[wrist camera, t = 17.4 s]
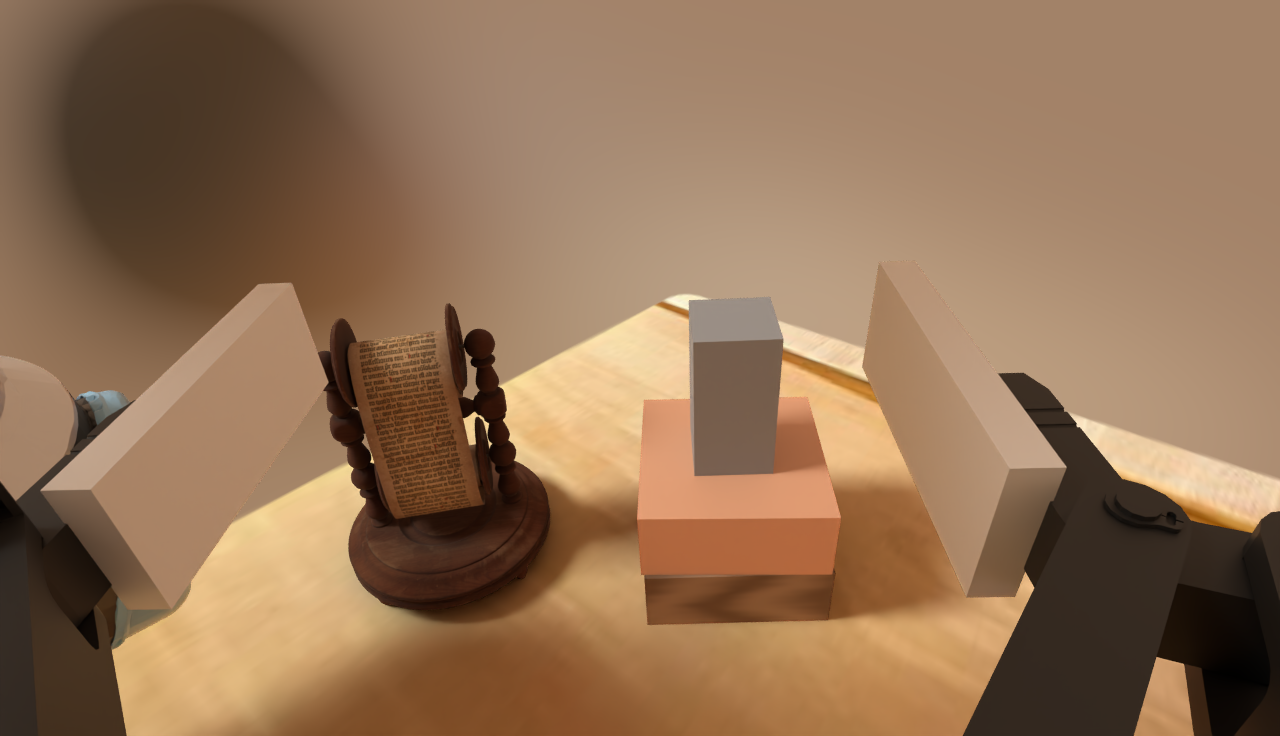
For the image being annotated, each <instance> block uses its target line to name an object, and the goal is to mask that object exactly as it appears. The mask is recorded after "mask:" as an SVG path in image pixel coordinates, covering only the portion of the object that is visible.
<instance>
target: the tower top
mask: <svg viewBox="0 0 1280 736" xmlns="http://www.w3.org/2000/svg"><path fill="white" fill-rule="evenodd" d="M840 522H841V515H840V512H839V508H838V505H837V501H836V497H835V494H834V490H833V487H832V483H831V479H830V476H829V472H828V469H827V465H826V462H825V458H824V454H823V451H822V447H821V444H820V440H819V436H818V433H817V429H816V426H815V422H814V418H813V415H812V411H811V408H810V404H809V400H808V397H782V398H779V404H778V417H777V430H776V443H775V456H774V469H773V474H745V475H713V476H694V465H693V453H692V440H691V428H690V399H670V400H644V409H643V426H642V443H641V461H640V478H639V495H638V513H637V524H638V538H639V551H640V564H641V575H832V573H833V567H834V560H835V554H836V548H837V541H838V535H839V529H840Z"/></svg>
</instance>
